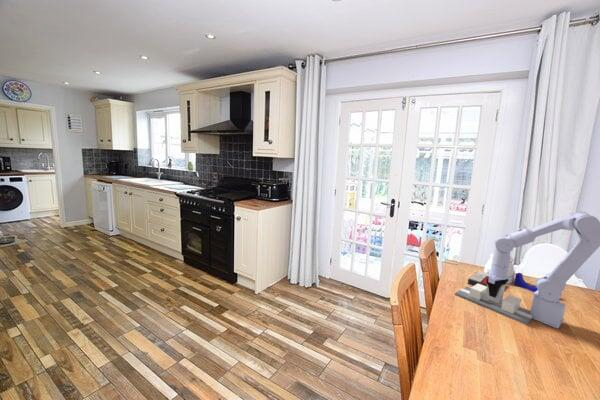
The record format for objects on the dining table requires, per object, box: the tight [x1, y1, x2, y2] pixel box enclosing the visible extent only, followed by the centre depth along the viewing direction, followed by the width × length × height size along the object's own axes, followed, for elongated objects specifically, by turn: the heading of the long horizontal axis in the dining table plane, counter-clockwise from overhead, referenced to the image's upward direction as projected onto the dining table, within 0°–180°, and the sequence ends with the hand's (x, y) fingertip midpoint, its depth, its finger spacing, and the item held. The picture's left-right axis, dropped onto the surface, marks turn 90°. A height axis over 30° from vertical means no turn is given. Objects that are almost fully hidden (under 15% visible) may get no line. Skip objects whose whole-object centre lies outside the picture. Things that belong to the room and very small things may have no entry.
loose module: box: [485, 284, 506, 303], centre depth 115 cm, size 5×4×7 cm
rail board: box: [454, 286, 533, 326], centre depth 116 cm, size 26×12×1 cm, turn 37°
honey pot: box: [483, 253, 516, 284], centre depth 142 cm, size 13×13×18 cm
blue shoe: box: [513, 272, 538, 293], centre depth 132 cm, size 12×4×6 cm, turn 27°
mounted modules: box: [469, 284, 522, 314], centre depth 115 cm, size 16×8×4 cm, turn 37°
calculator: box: [467, 270, 490, 287], centre depth 135 cm, size 11×4×15 cm
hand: (494, 294), depth 115 cm, fingers closed on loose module, 4 cm apart
